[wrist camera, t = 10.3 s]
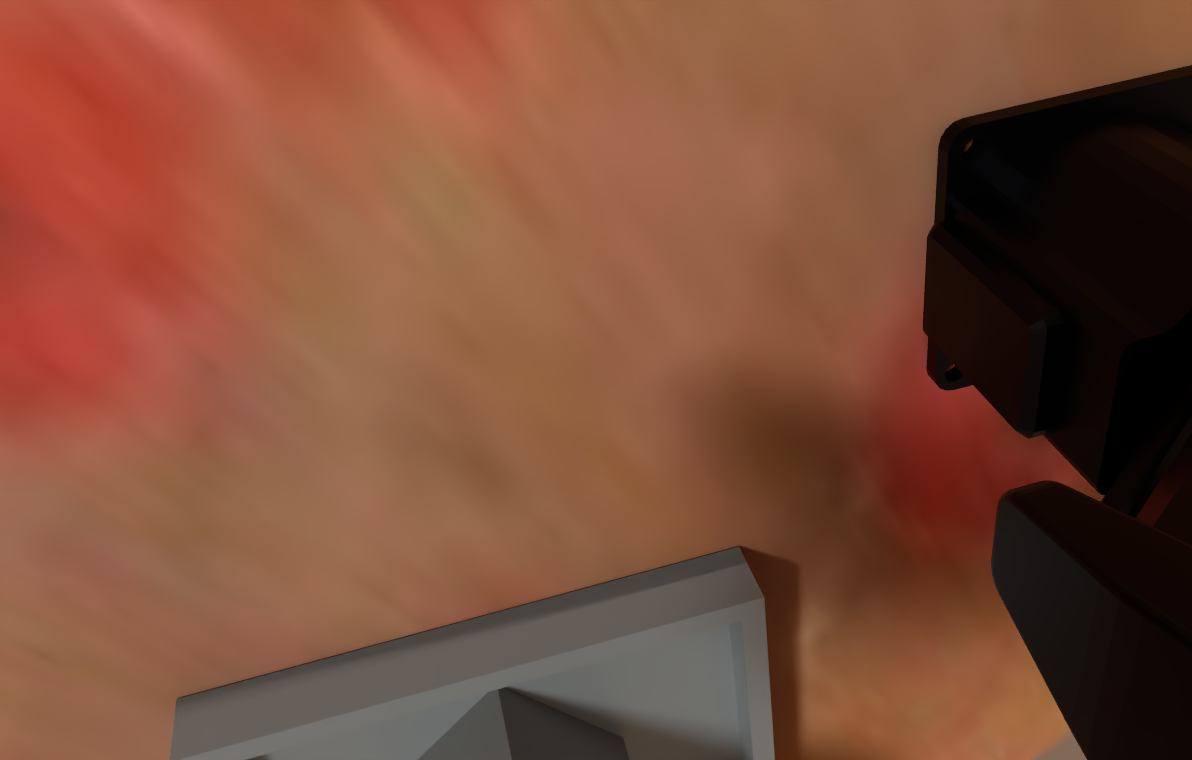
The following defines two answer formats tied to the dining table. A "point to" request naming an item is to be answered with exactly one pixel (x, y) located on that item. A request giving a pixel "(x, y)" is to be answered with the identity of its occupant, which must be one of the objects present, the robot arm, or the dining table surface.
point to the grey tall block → (523, 733)
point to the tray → (525, 677)
